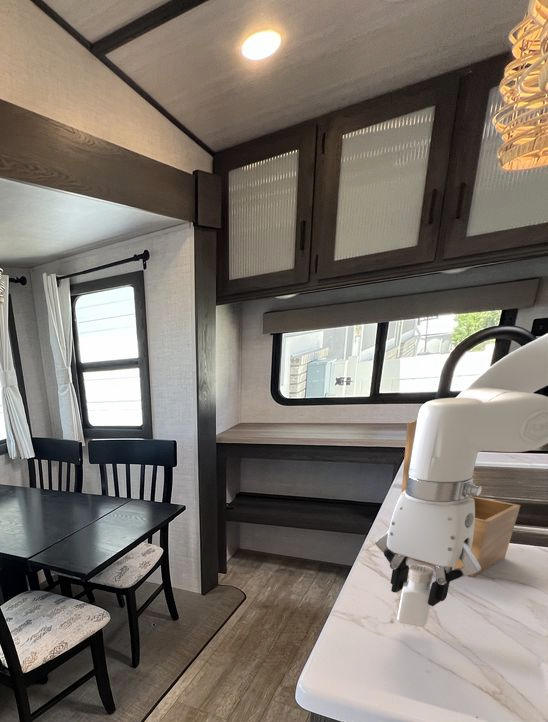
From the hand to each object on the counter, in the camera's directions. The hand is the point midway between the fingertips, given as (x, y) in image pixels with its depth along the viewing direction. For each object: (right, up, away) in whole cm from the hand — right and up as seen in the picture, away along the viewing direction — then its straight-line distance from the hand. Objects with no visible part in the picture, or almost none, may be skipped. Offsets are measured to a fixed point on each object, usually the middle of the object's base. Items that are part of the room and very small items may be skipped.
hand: (416, 594), depth 75 cm
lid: (+19, +27, +25) cm, 41 cm away
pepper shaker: (+1, -5, +2) cm, 5 cm away
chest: (+25, +6, +26) cm, 37 cm away
